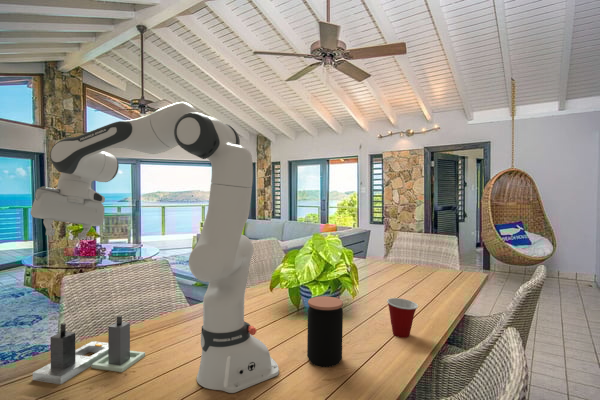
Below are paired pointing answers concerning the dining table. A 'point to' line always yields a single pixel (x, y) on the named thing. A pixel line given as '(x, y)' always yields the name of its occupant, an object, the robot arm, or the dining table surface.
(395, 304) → the plastic cup
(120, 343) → the plug
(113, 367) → the tray
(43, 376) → the pillar on holed base
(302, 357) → the dining table surface
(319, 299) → the coffee jar
